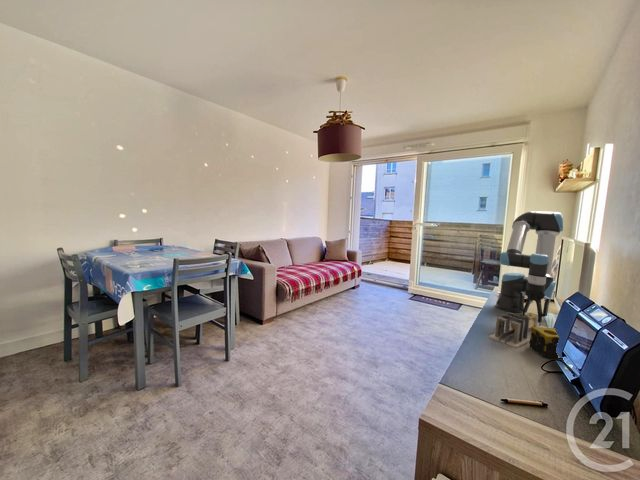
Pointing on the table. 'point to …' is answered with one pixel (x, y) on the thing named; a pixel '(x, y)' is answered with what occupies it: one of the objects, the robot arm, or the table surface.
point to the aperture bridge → (517, 325)
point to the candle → (544, 341)
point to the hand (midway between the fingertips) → (530, 325)
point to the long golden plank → (531, 322)
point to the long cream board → (509, 337)
